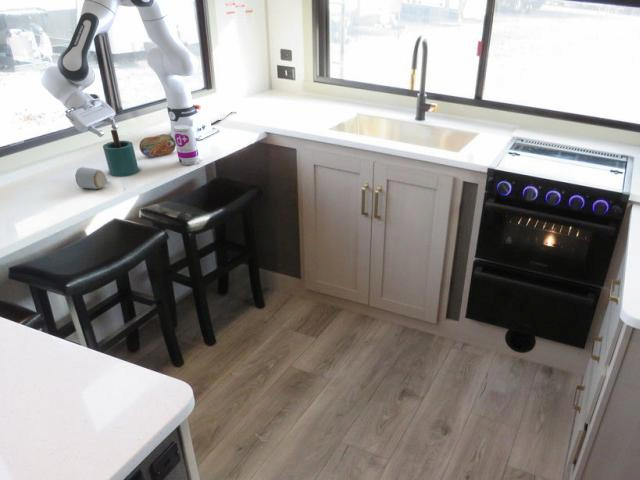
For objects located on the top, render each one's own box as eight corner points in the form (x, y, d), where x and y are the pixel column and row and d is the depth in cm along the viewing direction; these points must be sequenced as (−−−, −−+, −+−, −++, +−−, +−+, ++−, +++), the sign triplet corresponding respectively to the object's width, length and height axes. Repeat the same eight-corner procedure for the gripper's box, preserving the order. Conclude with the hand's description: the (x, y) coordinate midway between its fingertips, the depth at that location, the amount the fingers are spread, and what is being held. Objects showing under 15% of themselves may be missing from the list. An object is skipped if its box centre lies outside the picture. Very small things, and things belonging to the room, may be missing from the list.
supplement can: (193, 166, 240) (187, 130, 232) (175, 164, 241) (168, 128, 233) (203, 159, 247) (196, 124, 239) (185, 158, 248) (178, 123, 240)
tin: (143, 159, 246) (139, 140, 242) (140, 157, 248) (136, 138, 244) (177, 152, 255) (173, 133, 250) (174, 150, 257) (170, 131, 252)
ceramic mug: (98, 192, 215) (93, 172, 211) (78, 190, 216) (72, 170, 212) (114, 182, 224) (109, 163, 220) (94, 180, 225) (89, 161, 221)
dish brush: (124, 166, 236) (114, 127, 228) (133, 168, 234) (123, 129, 226) (114, 170, 233) (104, 130, 224) (122, 172, 230) (112, 132, 222)
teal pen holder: (126, 165, 240) (120, 139, 234) (144, 169, 236) (138, 143, 230) (104, 173, 232) (96, 146, 226) (122, 178, 228) (115, 150, 222)
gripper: (65, 106, 212) (96, 134, 215) (100, 93, 228) (128, 119, 232) (58, 117, 215) (89, 145, 218) (93, 104, 232) (121, 129, 235)
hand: (109, 131), depth 226 cm, fingers open, 8 cm apart
